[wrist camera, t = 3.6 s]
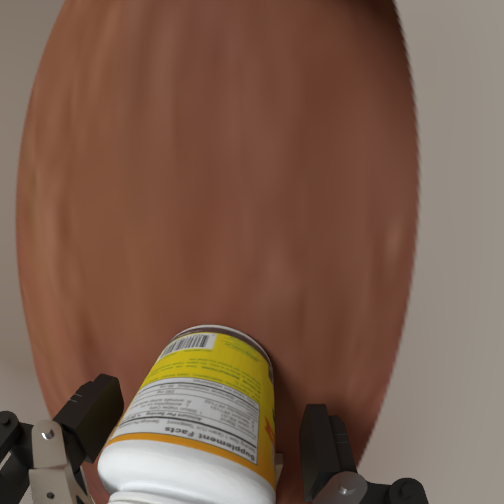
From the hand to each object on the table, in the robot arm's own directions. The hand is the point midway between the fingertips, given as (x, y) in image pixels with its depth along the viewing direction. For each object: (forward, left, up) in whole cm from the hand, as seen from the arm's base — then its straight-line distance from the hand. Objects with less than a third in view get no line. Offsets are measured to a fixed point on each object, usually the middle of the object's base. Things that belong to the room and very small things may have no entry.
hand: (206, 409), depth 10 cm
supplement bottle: (0, 0, -3) cm, 3 cm away
